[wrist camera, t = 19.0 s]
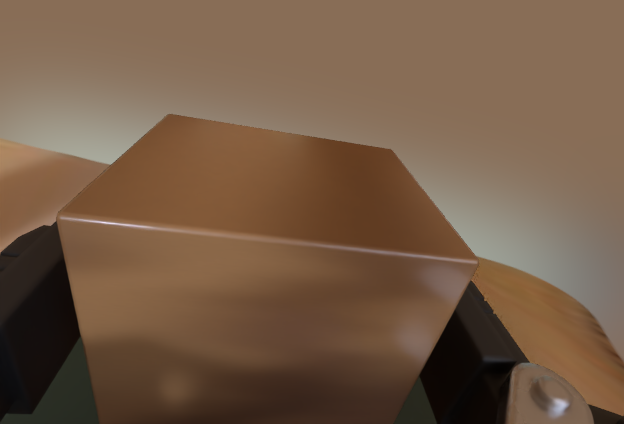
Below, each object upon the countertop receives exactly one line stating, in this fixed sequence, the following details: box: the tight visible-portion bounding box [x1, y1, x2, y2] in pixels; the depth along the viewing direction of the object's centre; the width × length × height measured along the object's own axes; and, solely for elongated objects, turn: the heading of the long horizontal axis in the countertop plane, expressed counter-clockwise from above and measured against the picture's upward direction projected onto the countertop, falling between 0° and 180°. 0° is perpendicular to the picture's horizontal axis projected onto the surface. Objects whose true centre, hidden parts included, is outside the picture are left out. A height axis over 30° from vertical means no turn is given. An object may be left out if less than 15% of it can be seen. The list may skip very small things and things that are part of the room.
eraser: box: [56, 114, 479, 424], centre depth 9 cm, size 6×5×10 cm
